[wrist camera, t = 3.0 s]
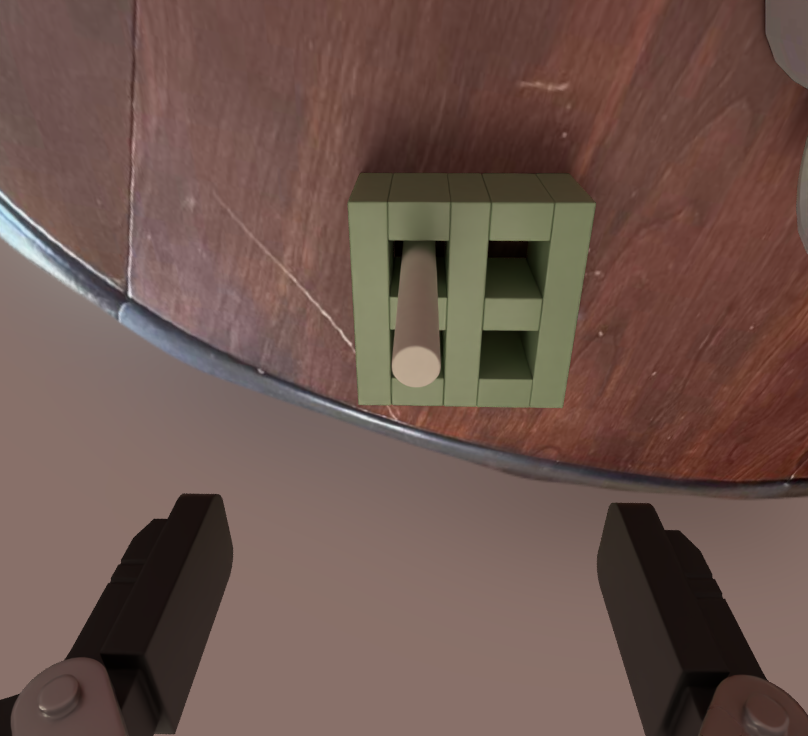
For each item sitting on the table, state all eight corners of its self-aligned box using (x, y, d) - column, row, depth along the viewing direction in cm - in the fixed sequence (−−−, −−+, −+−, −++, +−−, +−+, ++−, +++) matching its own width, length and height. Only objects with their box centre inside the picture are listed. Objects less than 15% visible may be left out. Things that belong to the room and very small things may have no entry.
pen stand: (367, 354, 33) (358, 405, 28) (359, 172, 28) (347, 201, 23) (544, 356, 32) (563, 408, 28) (569, 173, 27) (596, 202, 23)
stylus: (404, 246, 29) (391, 388, 18) (404, 217, 29) (390, 345, 18) (434, 247, 29) (440, 388, 18) (435, 217, 29) (441, 346, 17)
